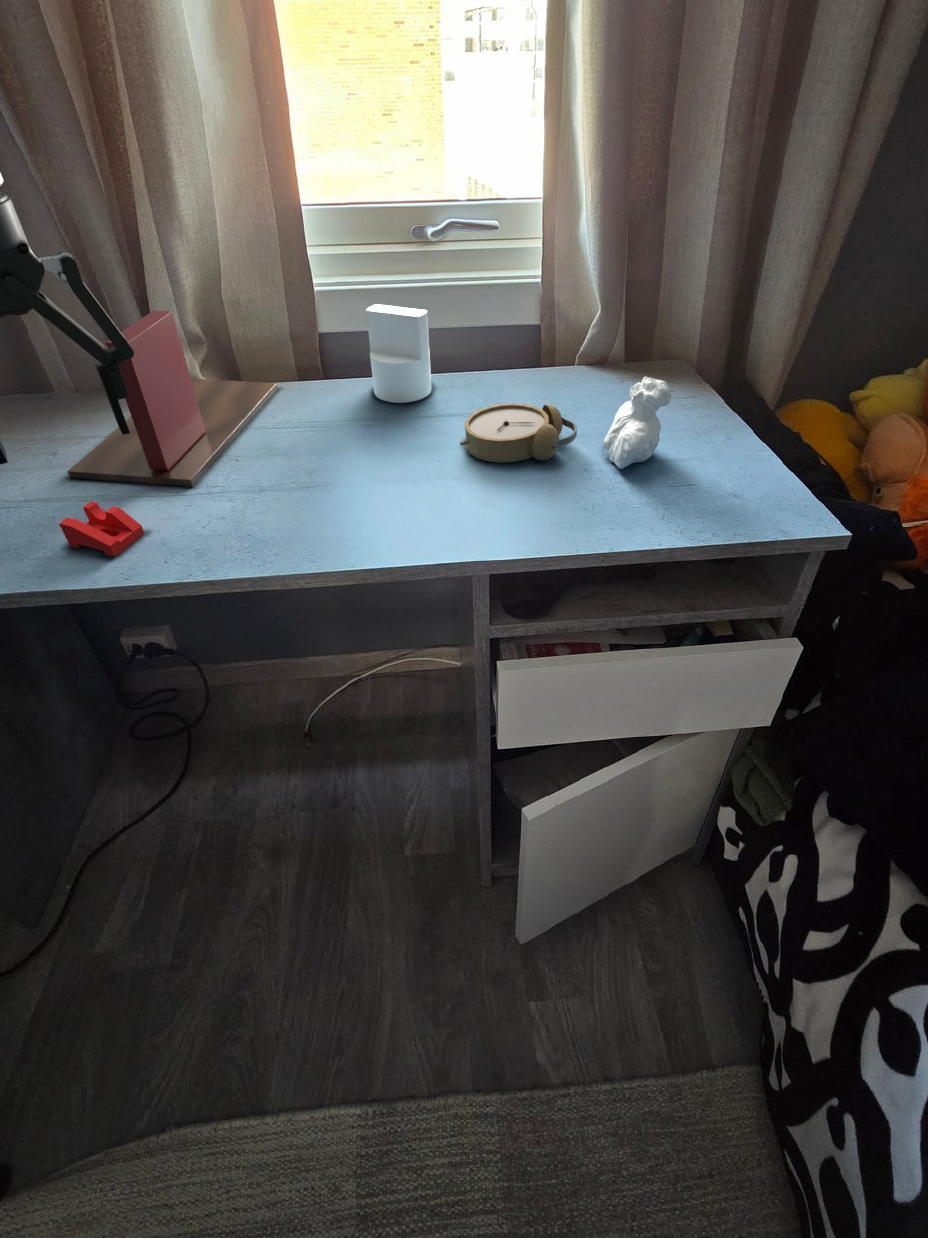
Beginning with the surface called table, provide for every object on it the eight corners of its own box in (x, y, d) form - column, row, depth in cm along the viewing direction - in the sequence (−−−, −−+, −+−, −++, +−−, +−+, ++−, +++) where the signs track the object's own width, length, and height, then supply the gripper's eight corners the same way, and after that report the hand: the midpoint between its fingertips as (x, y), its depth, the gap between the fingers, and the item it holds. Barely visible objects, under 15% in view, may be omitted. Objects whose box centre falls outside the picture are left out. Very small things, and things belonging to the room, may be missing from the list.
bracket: (69, 545, 78) (58, 523, 76) (100, 523, 81) (90, 501, 79) (114, 556, 76) (105, 534, 74) (144, 533, 79) (135, 511, 77)
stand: (70, 478, 89) (67, 471, 88) (177, 383, 111) (176, 377, 110) (192, 486, 87) (190, 479, 86) (277, 388, 109) (276, 382, 108)
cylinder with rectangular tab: (363, 397, 106) (354, 316, 98) (390, 375, 112) (383, 297, 104) (416, 406, 103) (411, 323, 95) (440, 383, 109) (437, 304, 101)
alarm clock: (471, 403, 97) (578, 392, 92) (477, 435, 100) (581, 426, 96) (454, 440, 88) (570, 430, 84) (461, 474, 92) (574, 466, 87)
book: (149, 469, 88) (105, 342, 77) (189, 429, 96) (153, 310, 85) (168, 470, 88) (125, 343, 77) (205, 430, 96) (172, 310, 85)
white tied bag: (632, 493, 88) (702, 430, 81) (588, 458, 85) (657, 390, 79) (626, 448, 97) (689, 388, 90) (586, 415, 94) (648, 351, 88)
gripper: (-228, 223, 49) (-65, 491, 64) (114, 185, 58) (189, 428, 72) (-215, 204, 54) (-66, 458, 68) (99, 172, 63) (172, 403, 77)
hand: (65, 443), depth 70 cm, fingers open, 11 cm apart
